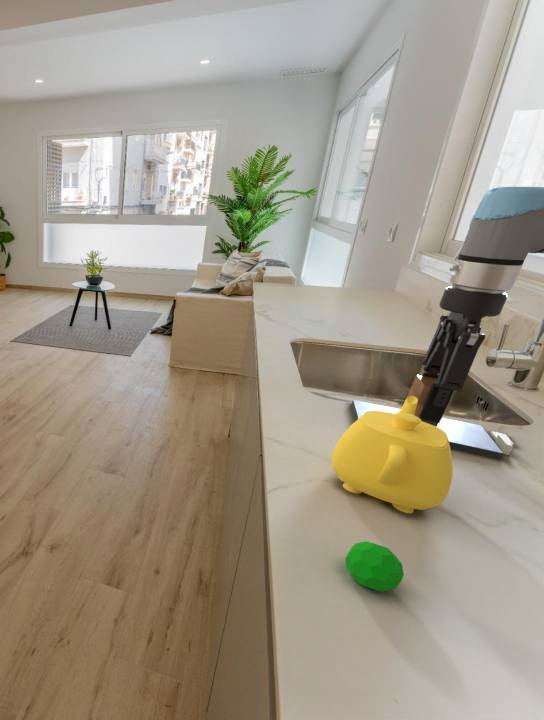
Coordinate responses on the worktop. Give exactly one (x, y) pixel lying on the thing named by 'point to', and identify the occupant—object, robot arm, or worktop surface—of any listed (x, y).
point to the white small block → (503, 444)
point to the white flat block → (495, 434)
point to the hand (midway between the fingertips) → (424, 412)
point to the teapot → (395, 459)
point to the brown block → (422, 394)
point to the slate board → (447, 432)
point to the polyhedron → (374, 566)
